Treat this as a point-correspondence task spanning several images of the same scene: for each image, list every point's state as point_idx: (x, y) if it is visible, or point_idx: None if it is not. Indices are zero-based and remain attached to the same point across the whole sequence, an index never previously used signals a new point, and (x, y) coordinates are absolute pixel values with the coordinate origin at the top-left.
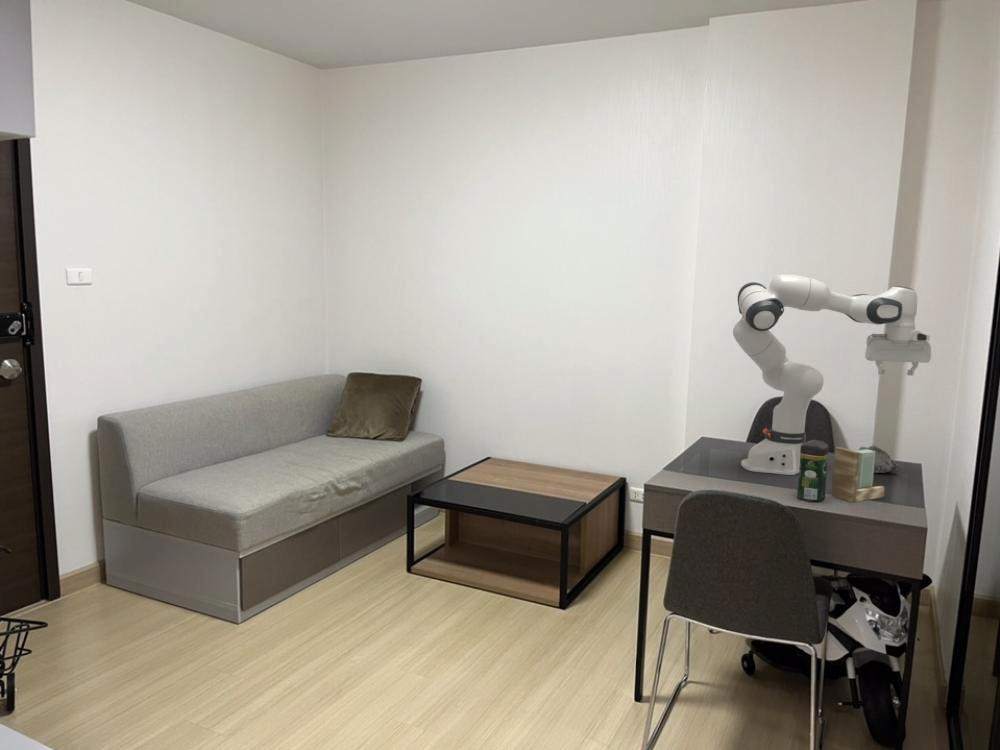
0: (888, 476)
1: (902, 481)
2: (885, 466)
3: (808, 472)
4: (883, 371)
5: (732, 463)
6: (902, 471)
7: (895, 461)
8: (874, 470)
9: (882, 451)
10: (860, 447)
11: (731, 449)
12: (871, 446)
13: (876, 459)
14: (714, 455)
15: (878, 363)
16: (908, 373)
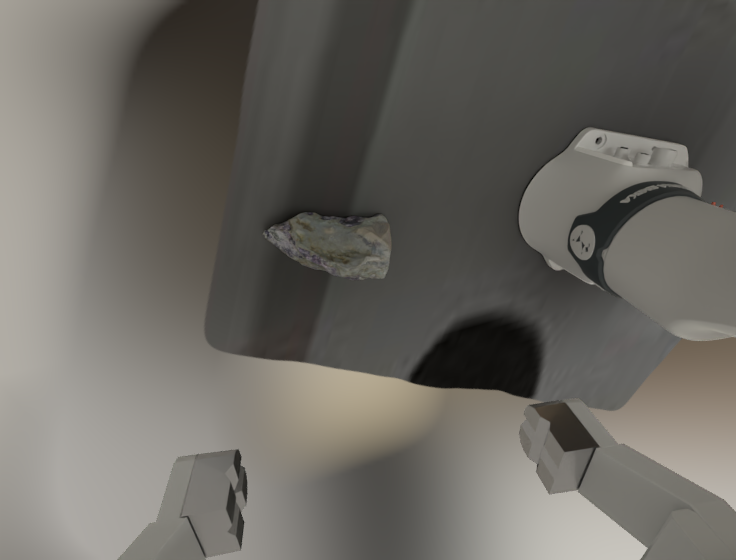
0: (300, 196)
1: (270, 146)
2: (309, 218)
3: None
4: (562, 426)
5: None
6: (245, 264)
7: (278, 232)
8: (338, 217)
9: (319, 256)
10: (387, 268)
11: (614, 343)
12: (357, 265)
13: (337, 234)
14: None
15: (727, 515)
16: (237, 483)
